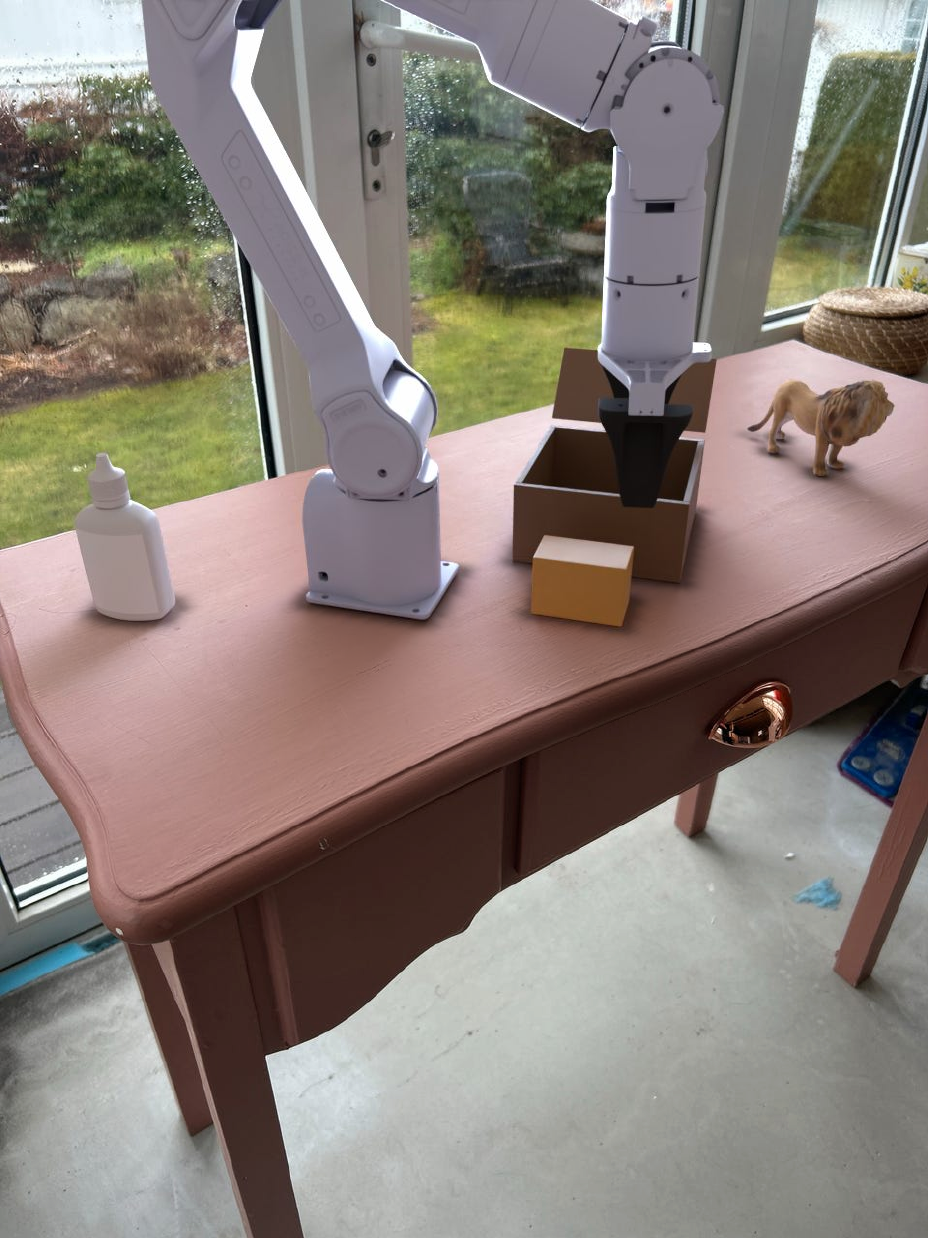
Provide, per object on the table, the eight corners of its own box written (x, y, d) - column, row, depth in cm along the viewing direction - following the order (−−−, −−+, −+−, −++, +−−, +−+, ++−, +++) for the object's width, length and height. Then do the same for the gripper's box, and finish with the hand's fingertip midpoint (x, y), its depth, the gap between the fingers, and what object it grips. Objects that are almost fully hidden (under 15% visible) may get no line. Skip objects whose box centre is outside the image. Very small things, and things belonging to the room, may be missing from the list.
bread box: (512, 561, 75) (513, 484, 71) (548, 494, 85) (550, 424, 82) (679, 583, 72) (689, 504, 68) (695, 510, 82) (705, 439, 79)
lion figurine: (887, 476, 88) (910, 381, 83) (849, 490, 85) (871, 393, 80) (763, 429, 98) (778, 342, 93) (727, 440, 96) (740, 351, 91)
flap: (564, 347, 82) (564, 348, 83) (551, 417, 81) (552, 418, 82) (716, 358, 79) (716, 360, 79) (705, 431, 78) (705, 432, 79)
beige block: (530, 613, 68) (532, 557, 66) (542, 589, 71) (544, 534, 69) (621, 627, 66) (626, 569, 64) (629, 601, 69) (634, 545, 67)
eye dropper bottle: (131, 635, 66) (94, 475, 60) (88, 608, 69) (49, 454, 63) (184, 610, 69) (154, 455, 63) (141, 585, 72) (107, 435, 66)
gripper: (728, 304, 51) (704, 530, 58) (710, 249, 63) (692, 442, 71) (596, 304, 52) (588, 527, 60) (604, 250, 64) (596, 440, 72)
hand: (638, 481), depth 65 cm, fingers open, 7 cm apart
